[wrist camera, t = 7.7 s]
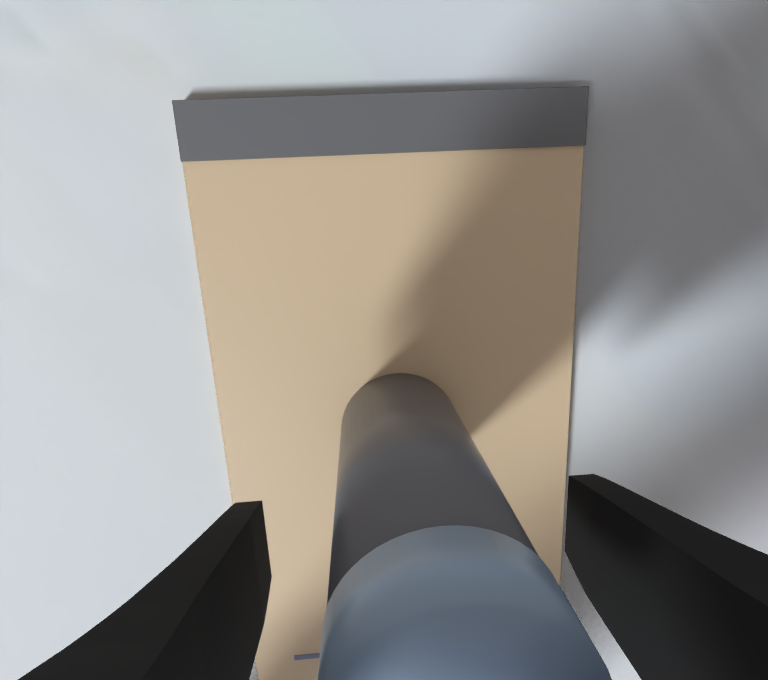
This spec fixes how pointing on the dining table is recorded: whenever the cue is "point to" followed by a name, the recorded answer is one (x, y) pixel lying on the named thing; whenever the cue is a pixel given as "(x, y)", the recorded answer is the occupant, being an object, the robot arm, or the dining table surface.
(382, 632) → the blue grey cylinder
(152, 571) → the dining table surface
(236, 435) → the notepad
